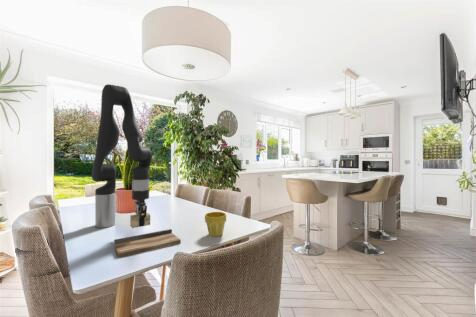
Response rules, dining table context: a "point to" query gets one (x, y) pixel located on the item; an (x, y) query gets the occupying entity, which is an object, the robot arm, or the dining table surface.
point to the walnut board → (145, 242)
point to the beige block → (135, 220)
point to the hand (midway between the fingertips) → (140, 224)
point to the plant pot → (215, 223)
